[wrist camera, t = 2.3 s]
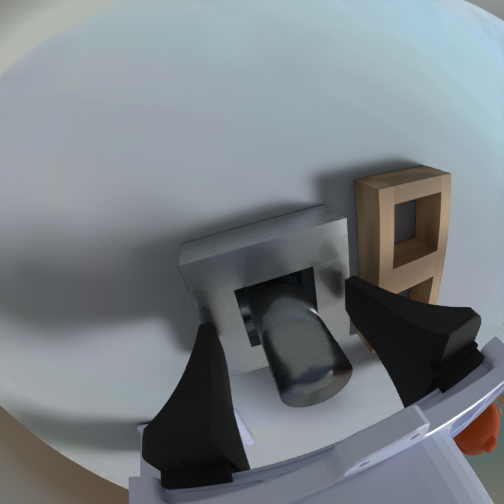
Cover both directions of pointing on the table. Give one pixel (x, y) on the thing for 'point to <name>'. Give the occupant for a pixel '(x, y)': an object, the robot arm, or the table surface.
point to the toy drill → (480, 433)
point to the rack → (411, 250)
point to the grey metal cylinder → (296, 343)
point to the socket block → (268, 275)
